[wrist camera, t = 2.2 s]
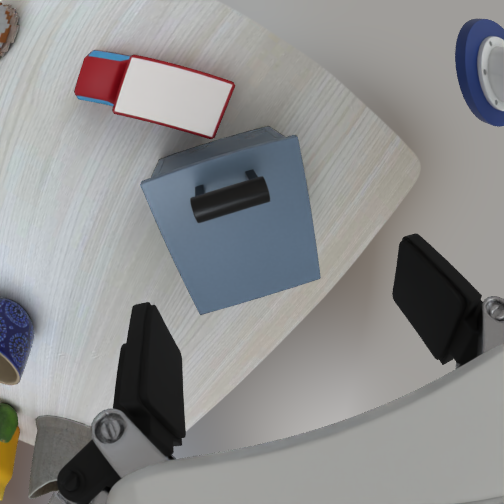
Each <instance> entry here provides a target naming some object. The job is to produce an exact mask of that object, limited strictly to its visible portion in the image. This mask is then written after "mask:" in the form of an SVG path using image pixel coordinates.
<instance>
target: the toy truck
mask: <svg viewBox="0 0 504 504" xmlns="http://www.w3.org/2000/svg"><path fill="white" fill-rule="evenodd" d="M234 88H235V84H234V82H232V81H229V80H226V79H223V78H220V77H217V76H214V75H211V74H207V73H204V72H201V71H197V70H194V69H191V68H187V67H183V66H180V65H176V64H172V63H168V62H164V61H160V60H156V59H152V58H147V57H143V56H138V55H132V56H128V55H123V54H117V53H111V52H105V51H99V50H93V51H92V52H90V53H89V54H88V55H87V56H86V57H85V58H84V61H83V64H82V67H81V70H80V74H79V77H78V80H77V84H76V87H75V91H74V93H75V95H76V96H77V98H78V99H80V100H85V101H91V102H96V103H101V104H106V105H111V106H113V109H112V111H113V112H114V114H118V115H122V116H126V117H131V118H135V119H139V120H143V121H147V122H151V123H155V124H159V125H162V126H166V127H170V128H174V129H177V130H181V131H184V132H188V133H191V134H195V135H198V136H201V137H205V138H208V139H213V138H215V136H216V133H217V130H218V128H219V125H220V123H221V120H222V117H223V115H224V112H225V110H226V107H227V105H228V102H229V100H230V97H231V95H232V92H233V90H234Z"/></svg>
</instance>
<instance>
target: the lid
mask: <svg viewBox="0 0 504 504" xmlns="http://www.w3.org/2000/svg"><path fill="white" fill-rule="evenodd" d="M140 185H141V188H142V190H143V192H144V195H145V197H146V200H147V202H148V204H149V207H150V209H151V211H152V214H153V216H154V218H155V221H156V223H157V225H158V227H159V230H160V232H161V234H162V236H163V239H164V241H165V243H166V245H167V247H168V250H169V252H170V254H171V256H172V258H173V260H174V263H175V265H176V267H177V269H178V271H179V273H180V275H181V277H182V279H183V281H184V283H185V285H186V288H187V290H188V292H189V294H190V296H191V298H192V300H193V302H194V304H195V306H196V308H197V310H198V312H199V313H200V315H202V314H206V313H209V312H213V311H216V310H220V309H223V308H227V307H230V306H234V305H237V304H241V303H244V302H247V301H251V300H254V299H257V298H261V297H264V296H267V295H270V294H274V293H277V292H280V291H283V290H286V289H290V288H293V287H296V286H299V285H302V284H305V283H308V282H311V281H315V280H318V279H320V278H321V277H320V269H319V262H318V254H317V247H316V240H315V233H314V227H313V220H312V214H311V208H310V201H309V195H308V190H307V184H306V178H305V173H304V167H303V162H302V156H301V151H300V146H299V141H298V137H297V136H295V135H292V136H288V137H283V138H279V139H275V140H271V141H267V142H264V143H260V144H256V145H252V146H249V147H245V148H241V149H238V150H234V151H231V152H228V153H224V154H221V155H218V156H214V157H211V158H208V159H205V160H201V161H198V162H195V163H192V164H189V165H186V166H183V167H180V168H177V169H174V170H171V171H169V172H166V173H163V174H160V175H157V176H155V177H152V178H149V179H146V180H144V181H142V182H141V184H140Z"/></svg>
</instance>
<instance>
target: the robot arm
mask: <svg viewBox="0 0 504 504" xmlns="http://www.w3.org/2000/svg"><path fill="white" fill-rule="evenodd" d="M477 69H478V76H479V81H480V85H481V88H482V91H483V93H484V95H485V97H486V99H487V101H488V102H489V103H490V105H491V106H493V107H494V108H495V109H497V110H501V111H504V40H503V39H501V38H499V37H495V36H489V37H487V38H485V39H484V40H483V41H482V43H481V45H480V47H479V51H478V57H477ZM392 294H393V299H394V301H395V303H396V304H397V305H398V306H399V308H400V309H401V311H402V312H403V313H404V315H405V316H406V317H407V319H408V320H409V322H410V323H411V324H412V326H413V327H414V329H415V330H416V331H417V333H418V334H419V336H420V337H421V338H422V340H423V341H424V343H425V344H426V346H427V347H428V349H429V350H430V352H431V353H432V355H433V356H434V357H435V358H436V359H437V360H438V359H439V360H440V362H441V363H442V365H444V364H446V363H447V362H449V361H451V360H453V358H454V359H455V361H456V369H455V370H453V371H452V372H450V373H448V374H446V375H444V376H443V377H441V378H439V379H437V380H435V381H433V382H431V383H429V384H427V385H425V386H423V387H421V388H419V389H417V390H415V391H413V392H411V393H409V394H407V395H405V396H402V397H400V398H398V399H396V400H393V401H391V402H389V403H387V404H384V405H382V406H379V407H377V408H375V409H372V410H370V411H367V412H364V413H362V414H360V415H357V416H354V417H351V418H349V419H346V420H343V421H340V422H337V423H334V424H331V425H328V426H325V427H322V428H319V429H315V430H312V431H309V432H306V433H302V434H299V435H295V436H291V437H288V438H284V439H280V440H276V441H272V442H267V443H263V444H259V445H254V446H249V447H244V448H239V449H234V450H230V451H224V452H218V453H212V454H206V455H199V456H193V457H187V458H181V459H176V458H175V457H174V456H173V455H172V454H173V446H181V445H182V438H184V437H185V435H186V431H185V416H184V398H183V375H182V356H181V353H180V350H179V349H178V347H177V345H176V343H175V341H174V339H173V338H172V336H171V334H170V332H169V330H168V328H167V326H166V325H165V323H164V321H163V319H162V317H161V315H160V313H159V311H158V309H157V307H156V306H155V305H151V304H150V303H149V302H146V303H141V304H137V305H134V306H133V308H132V313H131V319H130V324H129V330H128V337H127V343H126V344H123V345H122V347H121V351H120V357H119V364H118V371H117V378H116V386H115V395H114V404H113V409H107V410H104V411H102V412H100V413H99V414H98V415H97V416H96V417H95V418H94V420H93V422H92V424H91V429H90V430H91V437H92V440H91V441H90V442H89V443H88V444H87V445H86V446H85V447H84V448H83V449H82V450H80V451H79V452H78V453H77V454H76V455H75V456H74V457H73V458H72V459H71V460H70V461H69V462H68V463H67V464H66V465H65V466H64V467H63V468H62V469H61V470H60V472H59V474H58V477H57V486H58V490H59V491H58V493H57V494H56V493H54V494H53V495H52V497H51V499H50V501H49V503H48V504H504V299H502V298H500V297H497V296H491V297H488V298H486V299H485V300H484V302H482V301H481V300H480V299H481V296H482V295H481V294H480V293H479V292H478V291H477V290H476V289H475V288H474V287H473V286H472V285H471V284H470V283H469V282H468V281H467V280H466V279H465V278H464V277H463V276H462V275H461V274H460V273H459V272H458V271H457V270H456V269H455V268H454V267H453V266H452V265H451V264H450V263H449V262H448V261H447V260H446V259H445V258H444V257H442V255H441V254H439V253H438V252H437V251H436V250H435V249H434V248H433V247H432V246H431V245H430V244H429V243H427V242H426V241H425V240H424V239H423V238H422V237H421V236H420V235H418V234H412V235H408V236H405V237H403V239H402V241H401V242H400V244H399V252H398V259H397V267H396V273H395V281H394V286H393V293H392Z"/></svg>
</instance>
